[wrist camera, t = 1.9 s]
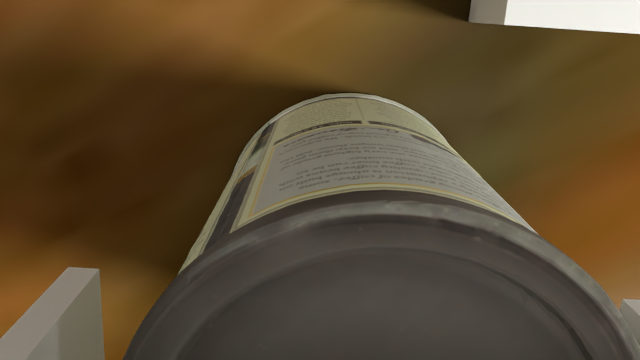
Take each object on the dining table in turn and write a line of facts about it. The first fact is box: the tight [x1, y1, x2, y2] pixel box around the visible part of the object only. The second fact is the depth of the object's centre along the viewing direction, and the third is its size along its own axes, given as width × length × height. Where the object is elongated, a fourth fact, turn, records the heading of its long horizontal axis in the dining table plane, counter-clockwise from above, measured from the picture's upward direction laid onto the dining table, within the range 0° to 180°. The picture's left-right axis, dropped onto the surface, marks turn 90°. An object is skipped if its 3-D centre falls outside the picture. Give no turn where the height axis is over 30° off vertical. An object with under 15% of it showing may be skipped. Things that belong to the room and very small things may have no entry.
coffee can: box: [123, 93, 640, 360], centre depth 17 cm, size 10×10×14 cm
